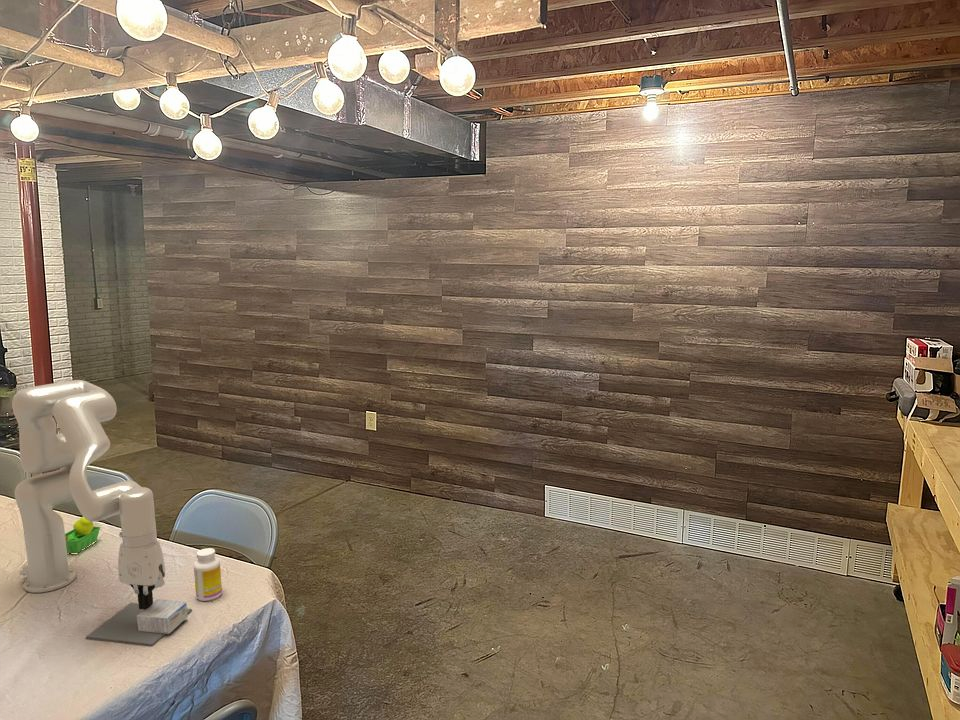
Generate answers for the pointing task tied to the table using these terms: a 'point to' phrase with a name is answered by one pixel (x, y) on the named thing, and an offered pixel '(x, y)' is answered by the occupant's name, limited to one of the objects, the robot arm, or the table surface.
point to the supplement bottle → (207, 575)
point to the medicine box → (162, 616)
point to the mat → (126, 628)
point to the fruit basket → (81, 535)
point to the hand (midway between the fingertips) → (146, 606)
